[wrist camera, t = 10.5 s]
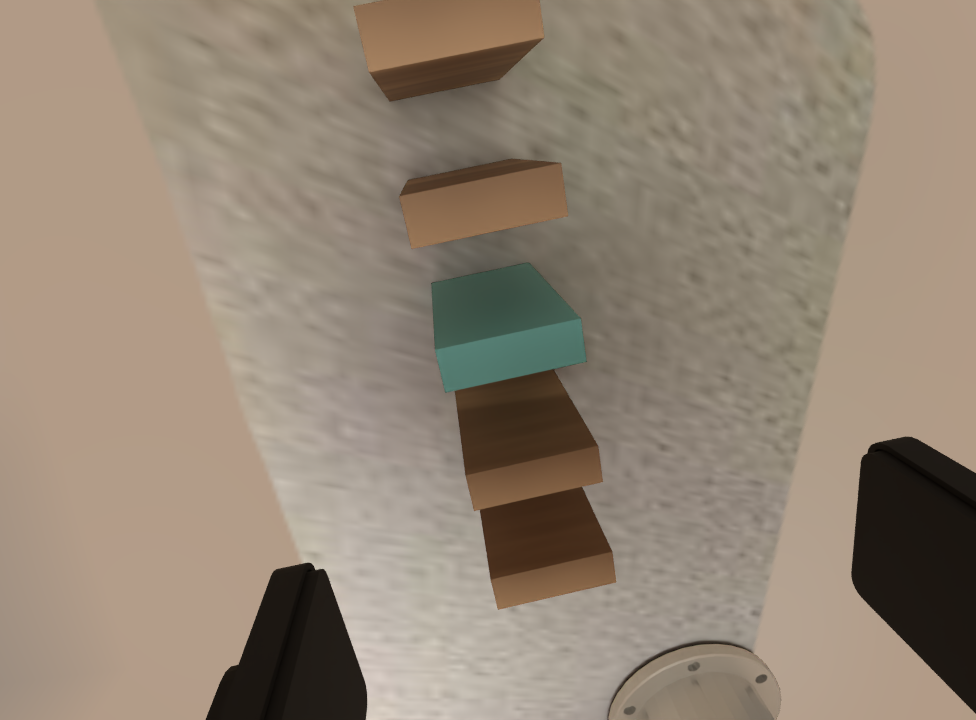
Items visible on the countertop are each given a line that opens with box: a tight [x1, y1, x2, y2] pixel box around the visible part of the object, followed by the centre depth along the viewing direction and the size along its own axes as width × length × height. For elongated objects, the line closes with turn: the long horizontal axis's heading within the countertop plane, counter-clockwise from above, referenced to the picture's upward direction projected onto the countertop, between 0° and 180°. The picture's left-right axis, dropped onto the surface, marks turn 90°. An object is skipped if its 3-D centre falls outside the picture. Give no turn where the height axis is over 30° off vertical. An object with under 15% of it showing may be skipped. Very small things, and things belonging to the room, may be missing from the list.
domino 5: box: [480, 487, 616, 610], centre depth 27 cm, size 2×5×10 cm, turn 101°
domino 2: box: [399, 159, 568, 249], centre depth 22 cm, size 2×5×10 cm, turn 101°
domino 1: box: [353, 0, 544, 101], centre depth 20 cm, size 2×5×10 cm, turn 101°
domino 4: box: [455, 369, 603, 511], centre depth 25 cm, size 2×5×10 cm, turn 100°
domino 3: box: [431, 263, 587, 393], centre depth 24 cm, size 2×5×10 cm, turn 100°
